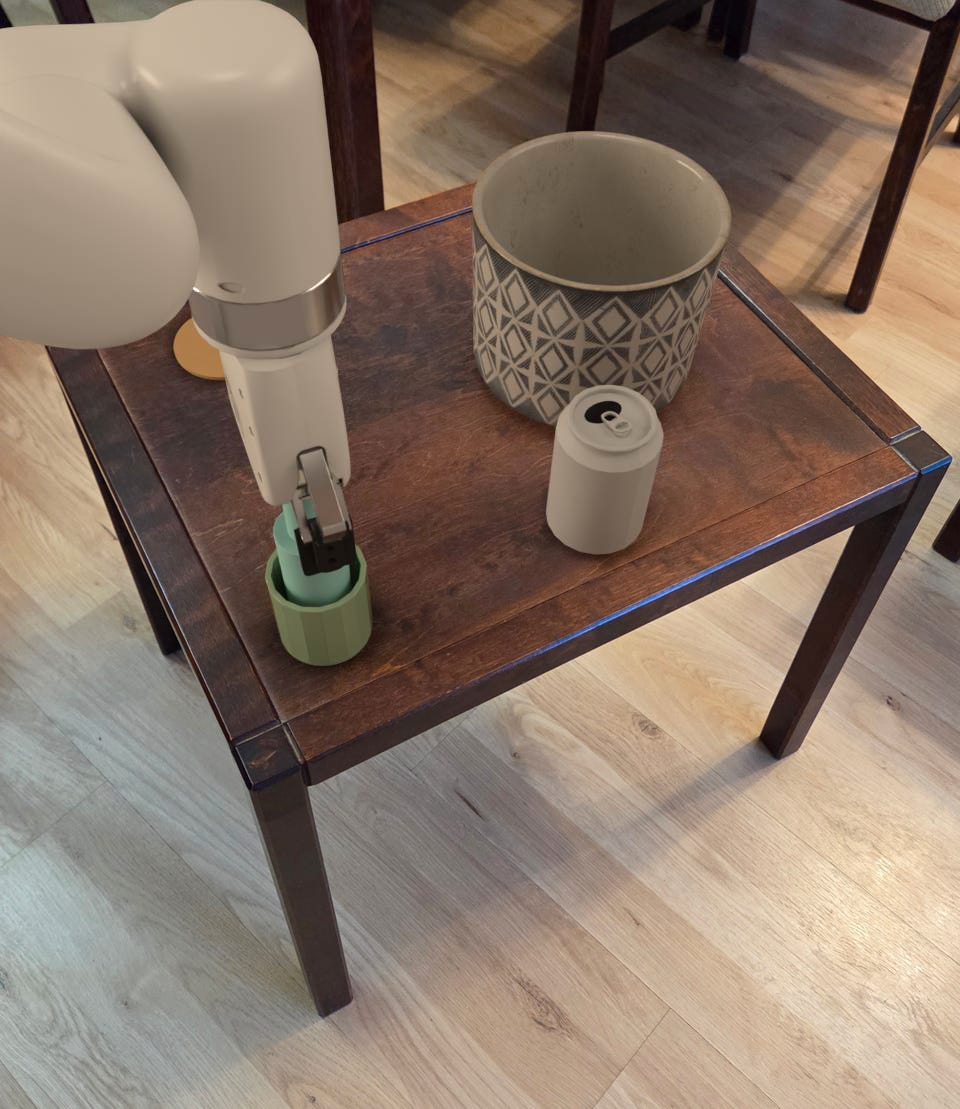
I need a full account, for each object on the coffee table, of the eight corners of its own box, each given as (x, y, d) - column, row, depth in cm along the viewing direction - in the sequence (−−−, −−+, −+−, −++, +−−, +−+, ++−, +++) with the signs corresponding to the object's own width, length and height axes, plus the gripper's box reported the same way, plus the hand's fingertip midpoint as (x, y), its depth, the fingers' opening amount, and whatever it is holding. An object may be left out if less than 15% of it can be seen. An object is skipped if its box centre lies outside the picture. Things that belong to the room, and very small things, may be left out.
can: (603, 471, 85) (623, 361, 75) (661, 535, 81) (690, 428, 71) (526, 509, 82) (536, 400, 72) (582, 576, 78) (601, 472, 69)
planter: (468, 448, 86) (472, 287, 72) (468, 291, 97) (471, 128, 84) (704, 450, 86) (750, 291, 73) (676, 294, 97) (712, 132, 84)
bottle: (303, 656, 73) (269, 502, 60) (287, 606, 76) (250, 447, 62) (364, 637, 74) (344, 482, 60) (345, 588, 77) (323, 429, 63)
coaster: (186, 391, 89) (185, 387, 88) (165, 322, 94) (164, 319, 93) (290, 365, 91) (289, 362, 90) (264, 300, 96) (263, 296, 95)
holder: (293, 678, 73) (280, 624, 67) (269, 603, 76) (254, 546, 71) (384, 649, 74) (378, 594, 69) (356, 577, 78) (349, 519, 72)
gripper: (152, 194, 54) (215, 422, 68) (229, 428, 45) (284, 637, 59) (294, 165, 56) (327, 393, 70) (397, 385, 47) (411, 598, 61)
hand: (307, 504), depth 64 cm, fingers open, 9 cm apart
